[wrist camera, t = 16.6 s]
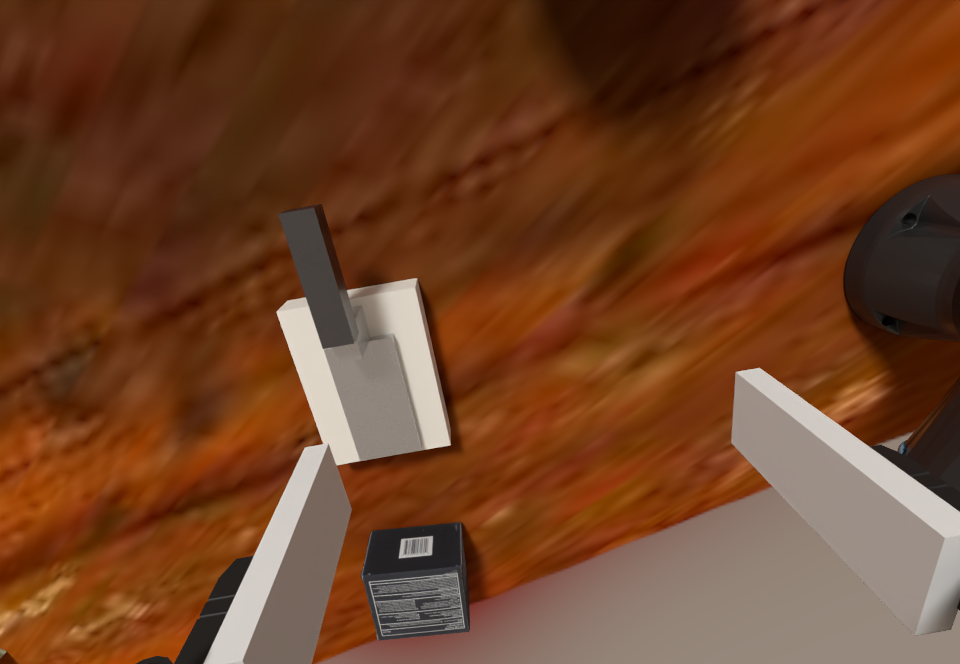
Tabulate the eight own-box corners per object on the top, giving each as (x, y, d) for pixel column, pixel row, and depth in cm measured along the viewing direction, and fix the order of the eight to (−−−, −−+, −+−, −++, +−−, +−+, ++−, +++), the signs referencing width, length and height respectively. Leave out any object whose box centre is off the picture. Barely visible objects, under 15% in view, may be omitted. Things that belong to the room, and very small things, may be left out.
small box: (370, 526, 53) (383, 590, 57) (359, 576, 47) (375, 644, 51) (462, 519, 53) (469, 583, 57) (462, 567, 47) (470, 635, 51)
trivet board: (287, 300, 42) (276, 311, 39) (417, 277, 42) (415, 287, 39) (337, 447, 48) (331, 466, 45) (450, 427, 48) (450, 445, 45)
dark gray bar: (281, 207, 36) (251, 218, 30) (357, 193, 36) (340, 202, 30) (361, 454, 45) (350, 497, 40) (421, 443, 45) (418, 485, 40)
